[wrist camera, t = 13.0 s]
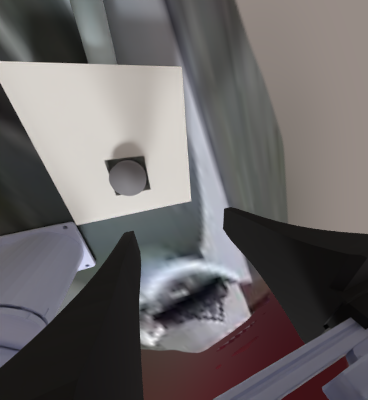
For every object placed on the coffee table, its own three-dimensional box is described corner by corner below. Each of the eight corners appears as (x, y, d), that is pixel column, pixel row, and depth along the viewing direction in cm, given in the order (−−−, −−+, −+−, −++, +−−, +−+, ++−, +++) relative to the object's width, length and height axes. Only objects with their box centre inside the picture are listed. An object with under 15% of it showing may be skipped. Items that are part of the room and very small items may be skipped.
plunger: (118, 190, 14) (115, 198, 12) (109, 161, 12) (103, 164, 10) (148, 185, 14) (149, 192, 12) (142, 157, 13) (142, 159, 11)
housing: (180, 188, 20) (191, 200, 16) (91, 205, 17) (76, 225, 13) (170, 86, 14) (181, 66, 11) (39, 87, 12) (-12, 61, 8)
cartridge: (135, 128, 15) (133, 123, 11) (108, 130, 14) (94, 125, 10) (82, -115, 9) (29, -352, 4) (31, -130, 8) (-88, -424, 4)
